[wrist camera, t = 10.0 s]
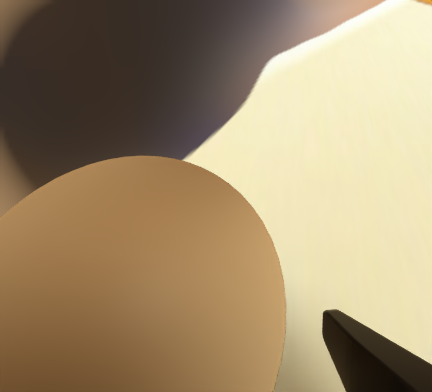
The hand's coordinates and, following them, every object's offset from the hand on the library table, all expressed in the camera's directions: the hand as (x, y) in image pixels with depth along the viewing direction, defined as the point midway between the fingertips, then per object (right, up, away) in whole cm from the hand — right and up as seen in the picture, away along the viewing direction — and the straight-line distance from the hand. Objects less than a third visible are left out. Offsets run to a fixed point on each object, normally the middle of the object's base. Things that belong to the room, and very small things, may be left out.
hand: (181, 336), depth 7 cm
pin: (0, -4, +6) cm, 7 cm away
